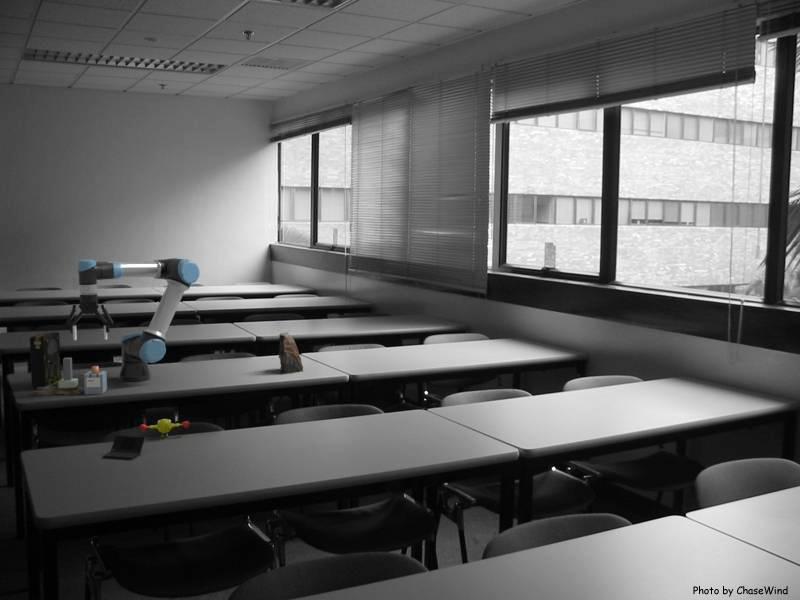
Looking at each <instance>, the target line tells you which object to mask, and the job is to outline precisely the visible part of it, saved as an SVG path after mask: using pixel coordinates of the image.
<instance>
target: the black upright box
mask: <svg viewBox="0 0 800 600" xmlns="http://www.w3.org/2000/svg"><path fill="white" fill-rule="evenodd" d="M60 345H61V344H60V333H59V332H58V331H57V332H55V331H49V332H43V333H39V334H37V335H34V336H31V337H30V338H29V349H30V350H29V351H30V354H29V355H30V356H29V357H30V373H31V379H30V380H31V389H36V390H37V387H55V386H56V384H57V385H58V381H59V380H61V379H62V373H61V372H62V371H61V370H62V369H61V346H60Z"/></svg>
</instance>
